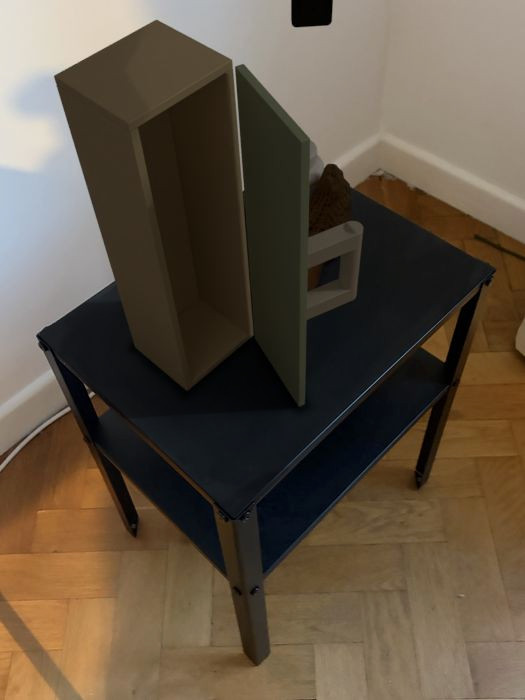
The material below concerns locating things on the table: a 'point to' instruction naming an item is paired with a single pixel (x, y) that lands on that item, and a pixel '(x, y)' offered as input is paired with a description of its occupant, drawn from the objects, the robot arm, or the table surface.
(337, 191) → the sculpture
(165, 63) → the cabinet
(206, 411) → the table surface
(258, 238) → the cabinet door
